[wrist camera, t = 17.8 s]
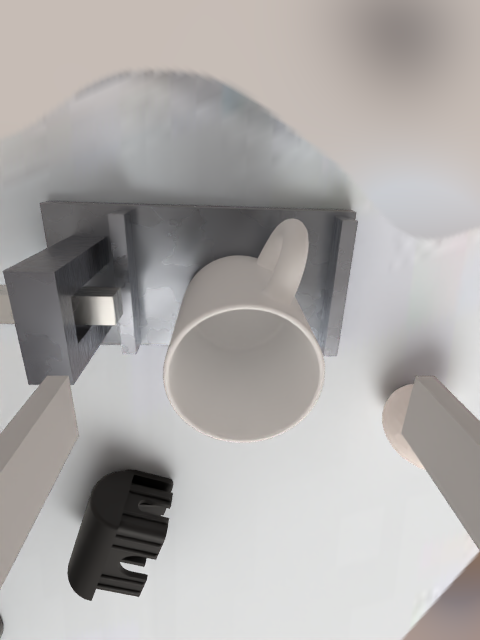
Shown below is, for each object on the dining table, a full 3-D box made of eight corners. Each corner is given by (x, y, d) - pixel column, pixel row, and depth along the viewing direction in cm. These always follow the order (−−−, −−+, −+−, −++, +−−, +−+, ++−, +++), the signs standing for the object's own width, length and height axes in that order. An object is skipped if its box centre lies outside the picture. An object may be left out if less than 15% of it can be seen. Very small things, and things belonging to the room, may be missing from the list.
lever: (-69, 295, 27) (-178, 347, 20) (-80, 259, 26) (-200, 300, 19) (136, 298, 28) (104, 350, 20) (133, 264, 27) (99, 305, 19)
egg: (355, 406, 34) (390, 473, 27) (404, 355, 32) (456, 412, 25) (405, 435, 36) (451, 506, 29) (454, 388, 34) (517, 452, 27)
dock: (70, 337, 30) (3, 415, 21) (47, 201, 26) (-49, 225, 17) (331, 340, 31) (375, 416, 22) (351, 210, 27) (415, 237, 18)
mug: (232, 181, 25) (237, 197, 15) (338, 234, 27) (400, 278, 17) (167, 330, 29) (139, 413, 20) (261, 368, 31) (278, 461, 21)
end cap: (104, 457, 36) (79, 521, 29) (176, 475, 37) (166, 540, 31) (82, 526, 39) (56, 596, 33) (148, 541, 41) (134, 610, 34)
